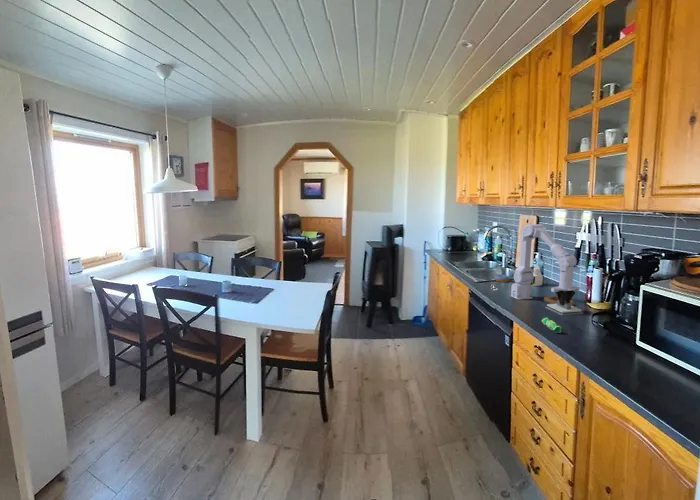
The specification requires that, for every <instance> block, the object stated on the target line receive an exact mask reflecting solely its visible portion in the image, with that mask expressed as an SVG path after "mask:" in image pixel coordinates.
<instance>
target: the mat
mask: <svg viewBox="0 0 700 500" xmlns="http://www.w3.org/2000/svg"><path fill="white" fill-rule="evenodd" d="M545 309H546V310H549V311H551V312H554V313H556V314H558V315H560V316H572V315H584V312H582V311H577V312H567V313H562V312H559V311H557V310H555V309H553V308H551V307H549V306H545Z"/></svg>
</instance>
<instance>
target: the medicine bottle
mask: <svg viewBox="0 0 700 500" xmlns="http://www.w3.org/2000/svg"><path fill="white" fill-rule="evenodd" d="M530 268H532V270H533V275H534V278H533V280H532V281H531V283H530V286H531V287H538V286H543V279H544V278H543V274H541V272H540V271H541V268H540V267H539V266H530Z"/></svg>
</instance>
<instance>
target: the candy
mask: <svg viewBox="0 0 700 500" xmlns="http://www.w3.org/2000/svg"><path fill="white" fill-rule="evenodd" d="M540 322H541V323H542V325H544V326H546V327H547V328H548V329H550V330H551V331H554V333H555V334H557V333H559V334H562V332H563V331H564V329H563V327H562V326H560V325H557V323H556V322H555V321H553V320H552V319H551V320H550V319H549V318H548V317H547V316H546V317H542V319H541V320H540Z"/></svg>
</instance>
